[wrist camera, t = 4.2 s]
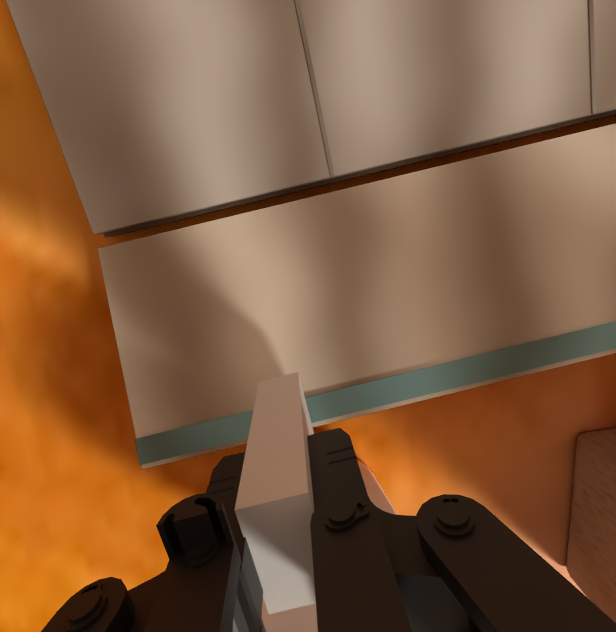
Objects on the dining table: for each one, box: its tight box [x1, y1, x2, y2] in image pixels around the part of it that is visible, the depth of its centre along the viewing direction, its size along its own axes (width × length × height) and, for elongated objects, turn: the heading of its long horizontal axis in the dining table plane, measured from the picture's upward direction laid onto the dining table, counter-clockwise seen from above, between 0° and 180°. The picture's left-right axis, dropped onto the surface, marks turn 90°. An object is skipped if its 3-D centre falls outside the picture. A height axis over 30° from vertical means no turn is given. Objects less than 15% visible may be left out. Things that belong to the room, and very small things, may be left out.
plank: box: [97, 124, 616, 469], centre depth 16 cm, size 30×9×2 cm, turn 103°
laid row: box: [6, 0, 616, 237], centre depth 15 cm, size 30×9×2 cm, turn 103°
